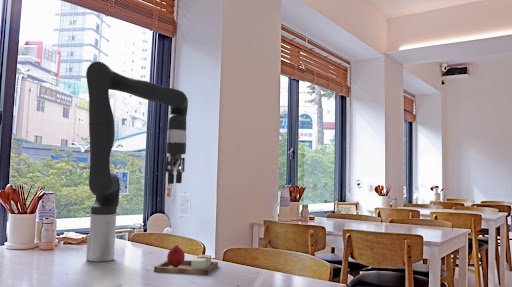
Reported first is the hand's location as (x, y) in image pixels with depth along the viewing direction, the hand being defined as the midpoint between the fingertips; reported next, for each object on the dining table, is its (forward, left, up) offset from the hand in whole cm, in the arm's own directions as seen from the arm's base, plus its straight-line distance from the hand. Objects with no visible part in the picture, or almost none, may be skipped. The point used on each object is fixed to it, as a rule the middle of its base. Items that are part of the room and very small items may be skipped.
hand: (174, 183), depth 169 cm
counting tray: (+12, -19, -29) cm, 37 cm away
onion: (+8, -19, -28) cm, 35 cm away
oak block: (+17, -16, -28) cm, 37 cm away
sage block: (+17, -22, -28) cm, 40 cm away
